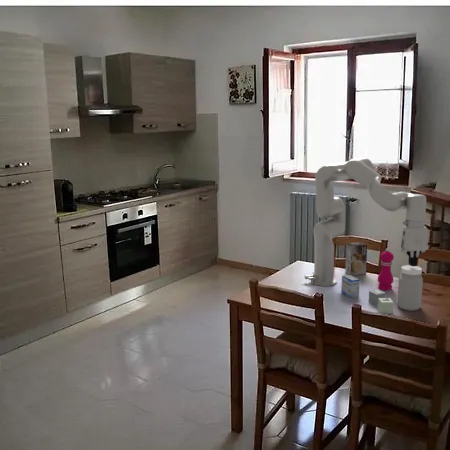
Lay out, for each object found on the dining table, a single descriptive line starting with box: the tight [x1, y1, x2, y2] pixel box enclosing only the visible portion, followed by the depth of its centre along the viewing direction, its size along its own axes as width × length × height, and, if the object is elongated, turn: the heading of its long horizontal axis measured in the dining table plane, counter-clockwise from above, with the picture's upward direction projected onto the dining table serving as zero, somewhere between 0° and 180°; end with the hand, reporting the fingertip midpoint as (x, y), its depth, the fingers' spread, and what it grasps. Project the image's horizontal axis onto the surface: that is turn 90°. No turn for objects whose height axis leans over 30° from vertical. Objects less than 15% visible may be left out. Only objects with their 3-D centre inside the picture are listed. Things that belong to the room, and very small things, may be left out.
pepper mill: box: [377, 248, 395, 291], centre depth 239 cm, size 7×7×20 cm
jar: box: [396, 264, 424, 312], centre depth 215 cm, size 10×10×18 cm
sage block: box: [377, 297, 395, 314], centre depth 213 cm, size 5×5×5 cm
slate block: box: [368, 288, 387, 306], centre depth 223 cm, size 5×5×5 cm
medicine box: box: [340, 274, 361, 299], centre depth 232 cm, size 8×4×9 cm, turn 23°
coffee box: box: [345, 241, 368, 276], centre depth 262 cm, size 9×6×16 cm
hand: (412, 265), depth 213 cm, fingers closed
